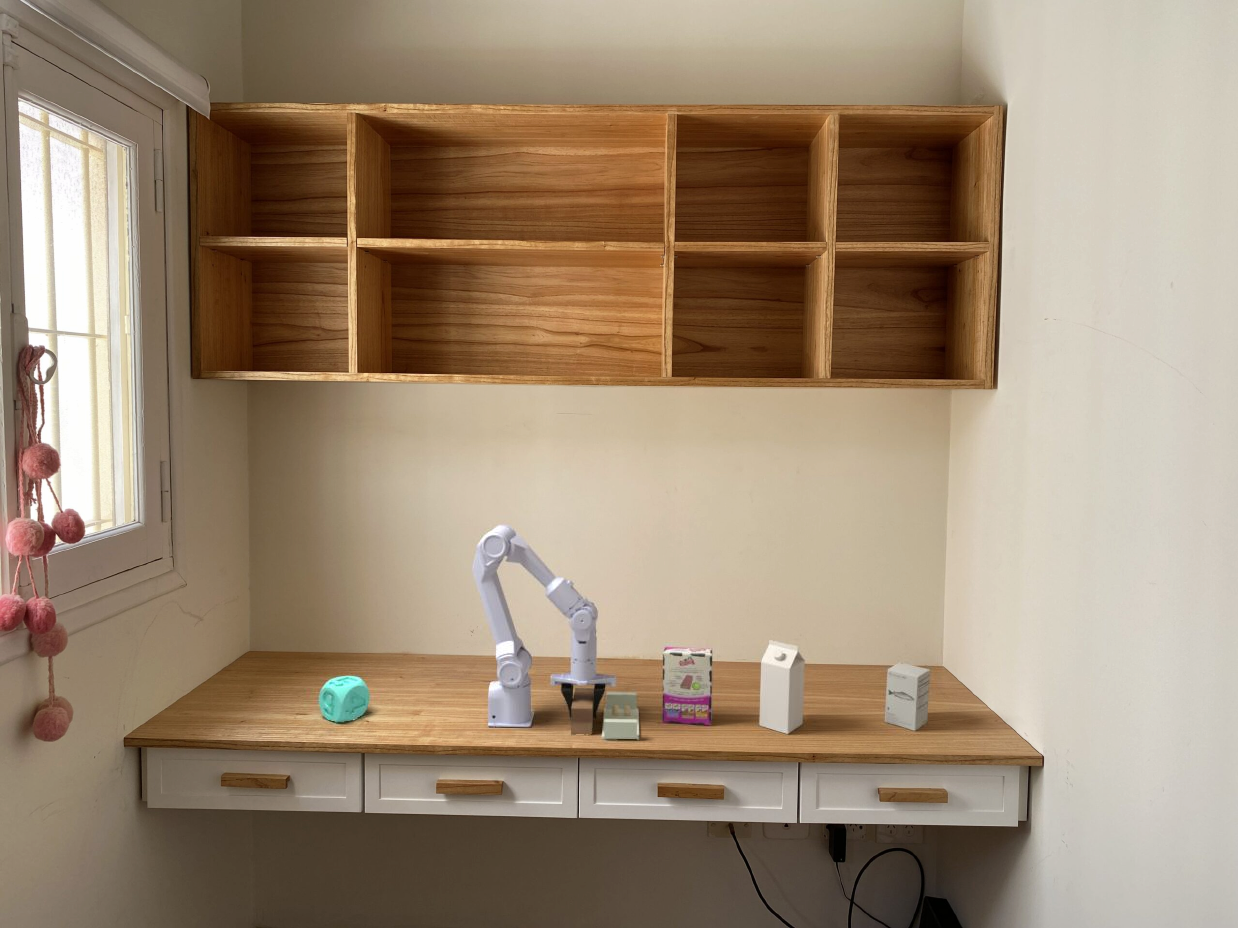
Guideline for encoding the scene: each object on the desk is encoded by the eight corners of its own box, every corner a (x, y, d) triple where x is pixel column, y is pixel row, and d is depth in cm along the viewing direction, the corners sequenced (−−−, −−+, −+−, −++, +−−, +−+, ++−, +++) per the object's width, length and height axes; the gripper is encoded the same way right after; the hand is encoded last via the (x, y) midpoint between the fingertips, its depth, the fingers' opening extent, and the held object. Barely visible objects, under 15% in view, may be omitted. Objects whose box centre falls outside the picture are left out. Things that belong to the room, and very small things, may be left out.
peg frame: (639, 740, 175) (639, 722, 175) (601, 740, 175) (601, 721, 175) (638, 709, 192) (638, 692, 192) (604, 708, 192) (604, 691, 192)
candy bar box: (711, 717, 188) (713, 647, 187) (711, 726, 183) (713, 654, 182) (663, 714, 190) (664, 645, 188) (661, 722, 185) (662, 652, 183)
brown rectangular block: (591, 735, 178) (592, 708, 177) (571, 734, 178) (571, 708, 177) (594, 713, 190) (594, 688, 189) (574, 713, 190) (575, 687, 189)
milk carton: (774, 716, 189) (777, 636, 187) (802, 724, 185) (805, 642, 183) (759, 726, 184) (761, 643, 182) (787, 734, 179) (790, 650, 177)
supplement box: (883, 722, 186) (885, 668, 185) (897, 713, 192) (899, 660, 191) (915, 732, 181) (917, 676, 180) (928, 722, 187) (931, 668, 186)
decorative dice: (370, 713, 188) (369, 679, 187) (341, 725, 181) (341, 690, 180) (347, 706, 192) (346, 673, 191) (318, 717, 185) (317, 683, 185)
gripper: (549, 662, 178) (549, 722, 180) (615, 663, 178) (615, 723, 180) (552, 652, 185) (552, 710, 187) (616, 653, 185) (615, 711, 187)
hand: (583, 716), depth 184 cm, fingers closed on brown rectangular block, 4 cm apart
